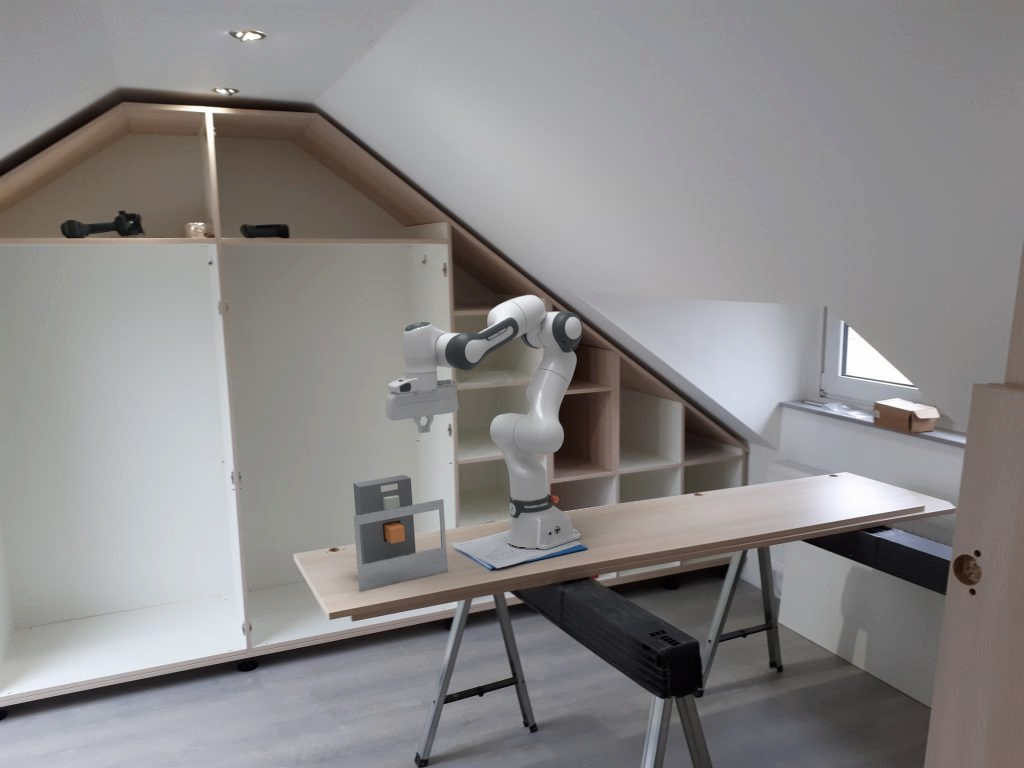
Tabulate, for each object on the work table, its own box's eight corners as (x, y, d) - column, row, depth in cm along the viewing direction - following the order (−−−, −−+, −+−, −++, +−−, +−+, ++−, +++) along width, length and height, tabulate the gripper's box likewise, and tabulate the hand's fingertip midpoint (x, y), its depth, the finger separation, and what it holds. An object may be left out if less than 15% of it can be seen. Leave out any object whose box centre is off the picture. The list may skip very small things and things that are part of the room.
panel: (419, 569, 237) (413, 479, 233) (368, 581, 230) (361, 488, 226) (410, 562, 243) (404, 474, 239) (360, 573, 236) (353, 483, 232)
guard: (447, 570, 235) (443, 499, 232) (359, 591, 223) (354, 516, 220) (436, 563, 241) (432, 493, 239) (351, 582, 230) (345, 509, 227)
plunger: (405, 540, 231) (404, 526, 231) (391, 543, 229) (390, 529, 229) (396, 534, 237) (395, 520, 237) (382, 536, 236) (381, 523, 235)
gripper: (451, 377, 237) (454, 425, 239) (382, 385, 228) (385, 435, 230) (460, 379, 232) (463, 429, 234) (390, 387, 222) (393, 439, 224)
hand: (424, 432), depth 232 cm, fingers closed
